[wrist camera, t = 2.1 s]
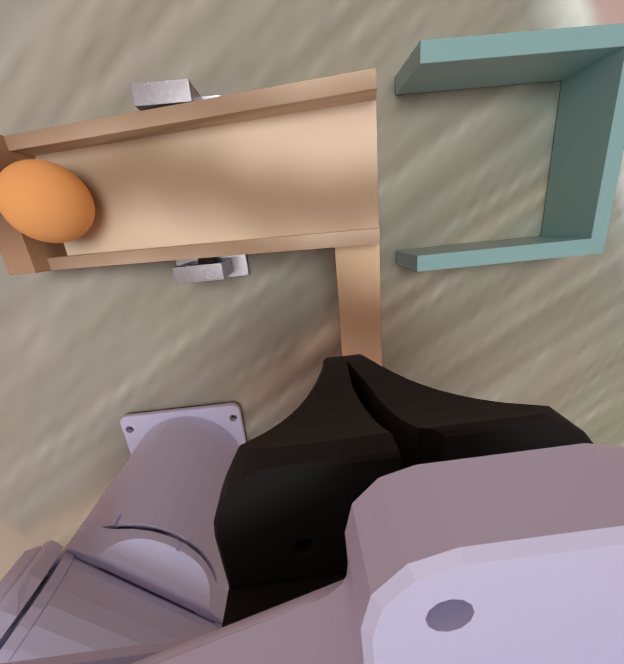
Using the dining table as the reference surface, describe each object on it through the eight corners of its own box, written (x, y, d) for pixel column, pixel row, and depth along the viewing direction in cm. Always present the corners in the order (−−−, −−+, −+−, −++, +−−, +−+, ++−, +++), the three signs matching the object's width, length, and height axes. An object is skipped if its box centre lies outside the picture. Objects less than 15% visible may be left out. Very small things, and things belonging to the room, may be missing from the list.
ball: (119, 237, 17) (71, 241, 13) (53, 243, 17) (-10, 249, 13) (98, 163, 16) (41, 146, 12) (28, 170, 16) (-48, 156, 12)
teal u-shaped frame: (551, 248, 20) (603, 252, 17) (396, 263, 20) (417, 271, 16) (578, 61, 17) (649, 20, 14) (395, 76, 17) (420, 40, 13)
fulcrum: (249, 273, 19) (240, 283, 16) (183, 280, 19) (161, 291, 16) (222, 98, 16) (205, 68, 13) (144, 105, 16) (108, 76, 13)
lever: (382, 390, 18) (384, 420, 15) (102, 389, 21) (64, 413, 18) (375, 89, 13) (376, 57, 11) (20, 149, 17) (-46, 137, 14)
